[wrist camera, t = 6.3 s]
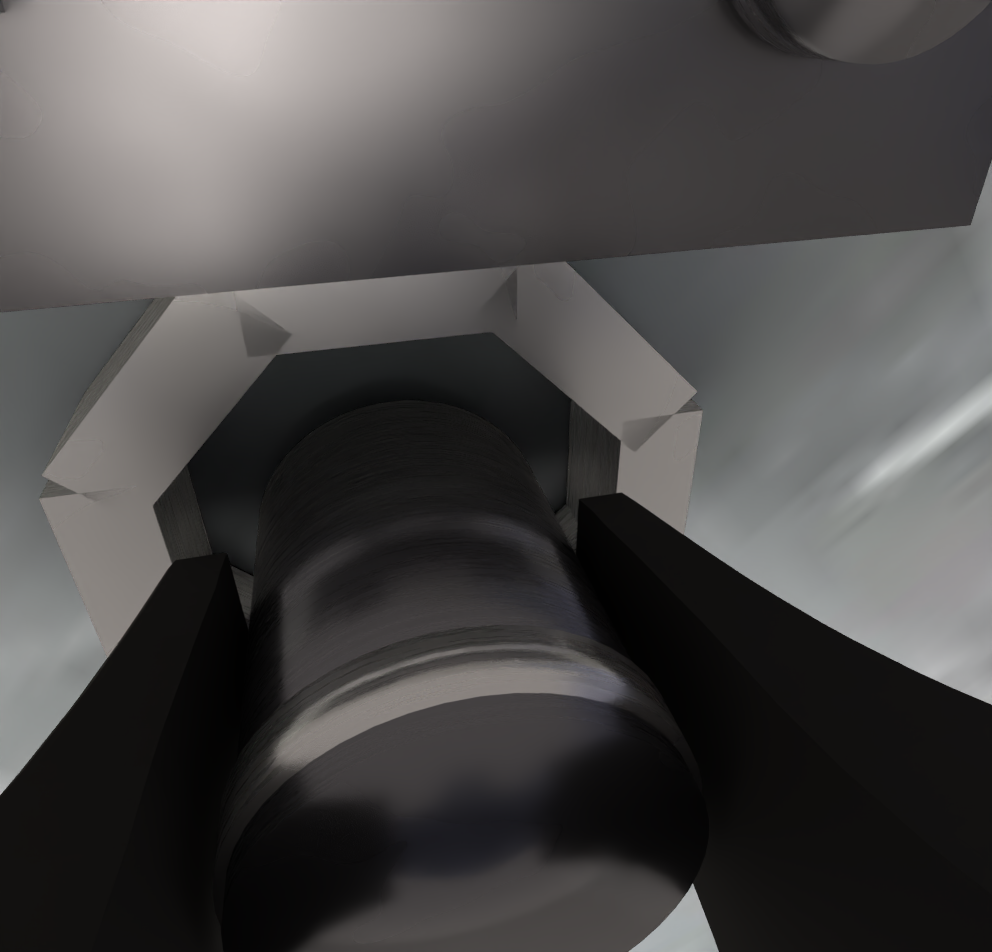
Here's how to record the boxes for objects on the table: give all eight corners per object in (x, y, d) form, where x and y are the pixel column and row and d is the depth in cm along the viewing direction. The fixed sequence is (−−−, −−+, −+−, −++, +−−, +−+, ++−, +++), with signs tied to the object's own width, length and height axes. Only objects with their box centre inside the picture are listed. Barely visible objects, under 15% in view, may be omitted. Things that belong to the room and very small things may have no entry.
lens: (583, 424, 11) (804, 728, 6) (495, 652, 13) (609, 1018, 8) (279, 364, 10) (252, 703, 5) (230, 631, 12) (177, 1065, 7)
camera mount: (909, -434, 8) (1457, -816, 4) (711, 602, 16) (839, 783, 12) (-618, -587, 5) (-2479, -1794, 2) (59, 723, 14) (-26, 994, 10)
